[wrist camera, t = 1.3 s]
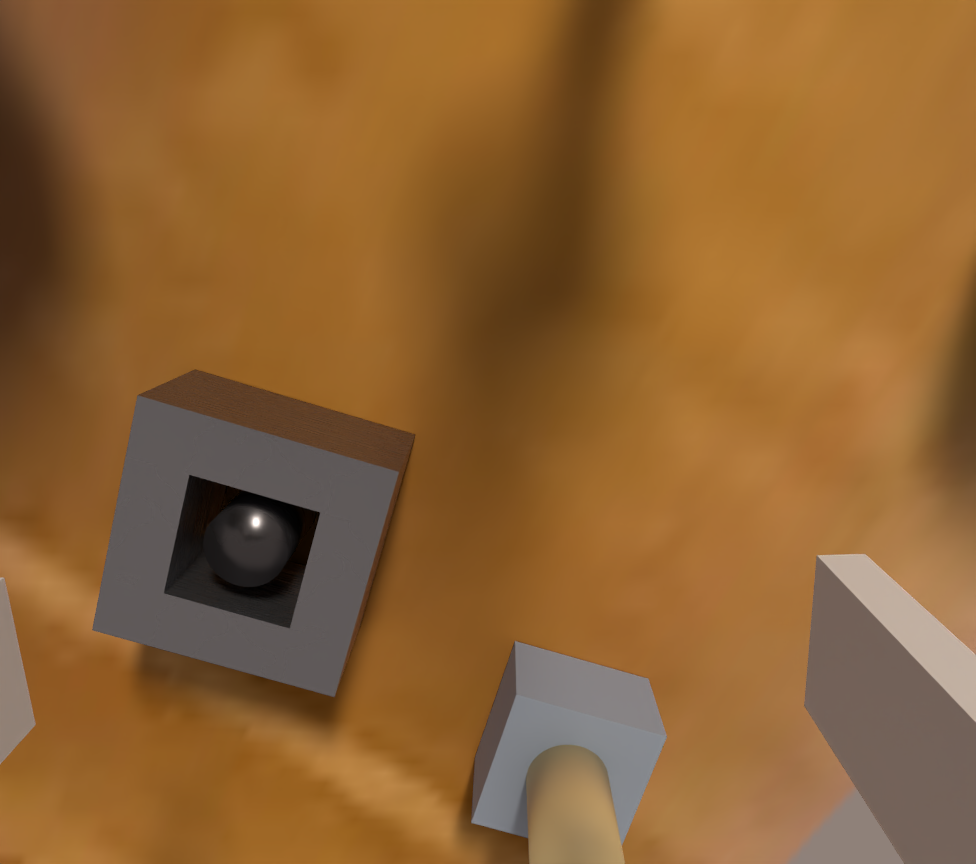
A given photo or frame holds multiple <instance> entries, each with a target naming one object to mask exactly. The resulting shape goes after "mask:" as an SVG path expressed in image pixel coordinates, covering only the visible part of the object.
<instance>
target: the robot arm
mask: <svg viewBox="0 0 976 864" xmlns="http://www.w3.org/2000/svg"><path fill="white" fill-rule="evenodd" d="M804 706H805V708H806V709H807V711H808V712H809V714H810V716H811V717H812V719H813V720H814V722H815V723H816V725H817V727H818V728H819V730H820V731H821V733H822V734H823V736H824V738H825V739H826V741H827V742H828V744H829V746H830V747H831V749H832V750H833V752H834V753H835V755H836V757H837V758H838V760H839V761H840V763H841V764H842V766H843V768H844V769H845V771H846V772H847V774H848V775H849V777H850V779H851V780H852V782H853V783H854V785H855V787H856V788H857V790H858V791H859V793H860V794H861V796H862V798H863V799H864V801H865V802H866V804H867V805H868V807H869V809H870V810H871V812H872V813H873V815H874V816H875V818H876V820H877V821H878V823H879V824H880V826H881V827H882V829H883V831H884V832H885V834H886V835H887V837H888V838H889V840H890V842H891V843H892V845H893V846H894V848H895V850H896V851H897V853H898V854H899V856H900V857H901V859H902V860H903V862H904V864H976V655H975V654H974V653H973V652H972V651H971V650H970V649H969V648H968V647H967V646H966V645H964V644H963V643H962V642H961V641H960V640H959V639H958V638H957V637H956V636H955V635H953V634H952V633H951V632H950V631H949V630H948V629H947V628H946V627H945V626H944V625H942V624H941V623H940V622H939V621H938V620H937V619H936V618H935V617H934V616H933V615H931V614H930V613H929V612H928V611H927V610H926V609H925V608H924V607H923V606H922V605H920V604H919V603H918V602H917V601H916V600H915V599H914V598H913V597H912V596H911V595H909V594H908V593H907V592H906V591H905V590H904V589H903V588H902V587H901V586H900V585H899V584H897V583H896V582H895V581H894V580H893V579H892V578H891V577H890V576H889V575H888V574H886V573H885V572H884V571H883V570H882V569H881V568H880V567H879V566H878V565H877V564H875V563H874V562H873V561H872V560H871V559H870V558H869V557H868V556H867V555H866V554H846V555H817V559H816V571H815V583H814V595H813V607H812V619H811V631H810V643H809V655H808V667H807V679H806V691H805V703H804ZM35 725H36V724H35V720H34V715H33V710H32V706H31V701H30V696H29V691H28V687H27V682H26V677H25V673H24V668H23V663H22V659H21V654H20V649H19V644H18V640H17V635H16V630H15V626H14V621H13V616H12V611H11V607H10V602H9V597H8V593H7V588H6V583H5V578H0V764H1V763H2V761H3V760H4V759H5V758H6V757H7V756H8V755H9V754H10V753H11V751H12V750H13V749H14V748H15V747H16V746H17V745H18V744H19V743H20V741H21V740H22V739H23V738H24V737H25V736H26V735H27V734H28V733H29V731H30V730H31V729H32V728H33V727H34V726H35Z"/></svg>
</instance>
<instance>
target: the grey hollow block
mask: <svg viewBox="0 0 976 864" xmlns="http://www.w3.org/2000/svg"><path fill="white" fill-rule="evenodd" d="M414 438H415V435H414V434H411V433H408V432H404V431H401V430H398V429H394V428H391V427H387V426H384V425H381V424H377V423H374V422H371V421H367V420H364V419H360V418H357V417H354V416H350V415H347V414H344V413H340V412H337V411H333V410H330V409H327V408H323V407H320V406H317V405H313V404H310V403H306V402H303V401H300V400H296V399H293V398H289V397H286V396H283V395H279V394H276V393H273V392H269V391H266V390H262V389H259V388H256V387H252V386H249V385H246V384H242V383H239V382H235V381H232V380H229V379H225V378H222V377H219V376H215V375H212V374H208V373H205V372H202V371H198V370H193V371H191V372H188V373H186V374H184V375H182V376H179V377H177V378H175V379H173V380H171V381H168V382H166V383H164V384H162V385H159V386H157V387H155V388H153V389H151V390H148V391H146V392H144V393H142V394H139V395H138V396H137V401H136V406H135V411H134V416H133V422H132V427H131V432H130V437H129V442H128V447H127V453H126V458H125V463H124V468H123V473H122V479H121V484H120V489H119V494H118V499H117V504H116V510H115V515H114V520H113V525H112V530H111V536H110V541H109V546H108V551H107V556H106V561H105V567H104V572H103V577H102V582H101V587H100V593H99V598H98V603H97V608H96V613H95V618H94V624H93V629H92V630H94V631H97V632H101V633H104V634H108V635H112V636H115V637H119V638H123V639H126V640H130V641H133V642H137V643H141V644H144V645H148V646H151V647H155V648H159V649H162V650H166V651H170V652H173V653H177V654H180V655H184V656H188V657H191V658H195V659H199V660H202V661H206V662H209V663H213V664H217V665H220V666H224V667H227V668H231V669H235V670H238V671H242V672H246V673H249V674H253V675H256V676H260V677H264V678H267V679H271V680H274V681H278V682H282V683H285V684H289V685H293V686H296V687H300V688H303V689H307V690H311V691H314V692H318V693H321V694H325V695H329V696H332V697H335V694H336V692H337V689H338V686H339V684H340V681H341V678H342V675H343V673H344V670H345V667H346V664H347V662H348V659H349V656H350V653H351V651H352V648H353V645H354V642H355V640H356V637H357V634H358V631H359V628H360V625H361V622H362V618H363V615H364V611H365V608H366V604H367V601H368V597H369V594H370V590H371V587H372V583H373V580H374V576H375V573H376V569H377V566H378V562H379V559H380V556H381V552H382V549H383V545H384V542H385V538H386V535H387V531H388V528H389V524H390V521H391V517H392V514H393V510H394V507H395V503H396V500H397V497H398V493H399V490H400V486H401V483H402V479H403V476H404V472H405V469H406V465H407V462H408V458H409V455H410V451H411V448H412V444H413V441H414ZM226 486H230V487H234V488H237V489H241V490H244V491H248V492H251V493H255V494H258V495H262V496H265V497H268V498H272V499H275V500H279V501H282V502H286V503H289V504H293V505H296V506H300V507H303V508H307V509H310V510H313V511H317V512H320V516H319V520H318V523H317V527H316V531H315V535H314V539H313V542H312V546H311V550H310V554H309V558H308V561H307V565H306V566H305V565H302V564H298V563H295V562H291V561H287V563H286V564H285V566H284V568H283V569H282V570H281V572H280V573H279V574H278V575H277V576H276V577H275V578H274V579H273V580H271V581H270V582H268V583H266V584H263V585H260V586H255V587H243V586H238V585H234V584H231V583H229V582H227V581H225V580H224V579H222V578H221V577H220V576H218V575H217V574H216V573H215V572H214V571H213V569H212V568H211V567H210V565H209V564H208V562H207V560H206V557H205V554H204V548H203V540H204V535H205V531H206V529H207V527H208V526H209V524H210V523H211V521H212V520H213V519H214V518H215V517H216V516H217V515H218V514H219V513H220V512H221V508H222V503H223V499H224V494H225V490H226Z"/></svg>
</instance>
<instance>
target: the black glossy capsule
mask: <svg viewBox="0 0 976 864" xmlns="http://www.w3.org/2000/svg"><path fill="white" fill-rule="evenodd" d="M316 512H317V511H313V510H310V509H307V508H303V507H300V506H296V505H293V504H289V503H286V502H282V501H279V500H275V499H272V498H268V497H265V496H262V495H258V494H255V493H251V492H248V491H244V490H242V491H241V492H240V493H239V494H238V495H237V496H236V497H235V498H234V499H233V500H232V501H231V502H230V503H229V504H228V505H227V506H226V507H225V508H224V509H223V510H222V511H221V512H220V513H219V514H218V515H217V516H216V517H215V518H214V519H213V520H212V521H211V523H210V524H209V526H208V527H207V529H206V531H205V535H204V540H203V548H204V554H205V557H206V560H207V562H208V564H209V565H210V567H211V568H212V569H213V571H214V572H215V573H216V574H217V575H218V576H220V577H221V578H222V579H224V580H225V581H227V582H229V583H231V584H234V585H238V586H243V587H255V586H260V585H263V584H266V583H268V582H270V581H271V580H273V579H274V578H275V577H276V576H277V575H278V574H279V573H280V572H281V570H282V569H283V568H284V566H285V564H286V563H287V561H288V560H289V558H290V557H291V555H292V554H293V552H294V551H295V549H296V548H297V546H298V545H299V543H300V542H301V540H302V539H303V537H304V536H305V534H306V532H307V531H308V529H309V528H310V526H311V525H312V523H313V521H314V519H315V516H316Z"/></svg>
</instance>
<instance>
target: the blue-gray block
mask: <svg viewBox="0 0 976 864" xmlns="http://www.w3.org/2000/svg"><path fill="white" fill-rule="evenodd" d="M666 737H667V736H666V732H665V729H664V726H663V723H662V720H661V717H660V714H659V711H658V707H657V704H656V701H655V698H654V695H653V692H652V689H651V685H650V682H649V679H647V678H644V677H640V676H637V675H633V674H630V673H626V672H622V671H619V670H615V669H612V668H608V667H605V666H601V665H598V664H594V663H591V662H587V661H584V660H580V659H577V658H573V657H570V656H566V655H563V654H559V653H556V652H552V651H548V650H545V649H541V648H538V647H534V646H531V645H527V644H524V643H520V642H517V641H515V643H514V646H513V649H512V651H511V654H510V657H509V660H508V663H507V666H506V669H505V672H504V675H503V678H502V680H501V683H500V686H499V689H498V692H497V695H496V698H495V701H494V704H493V707H492V709H491V712H490V715H489V718H488V721H487V724H486V727H485V730H484V733H483V736H482V738H481V741H480V744H479V747H478V750H477V753H476V756H475V766H474V784H473V801H472V819H471V823H474V824H478V825H482V826H485V827H489V828H493V829H496V830H500V831H504V832H507V833H511V834H515V835H519V836H522V837H526V838H528V845H529V864H625V861H624V856H623V851H622V844H623V841H624V839H625V837H626V834H627V832H628V829H629V827H630V825H631V822H632V820H633V817H634V815H635V812H636V810H637V808H638V805H639V803H640V800H641V798H642V796H643V793H644V791H645V788H646V786H647V783H648V781H649V779H650V776H651V774H652V771H653V769H654V766H655V764H656V762H657V759H658V757H659V754H660V752H661V750H662V747H663V745H664V742H665V740H666Z"/></svg>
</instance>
